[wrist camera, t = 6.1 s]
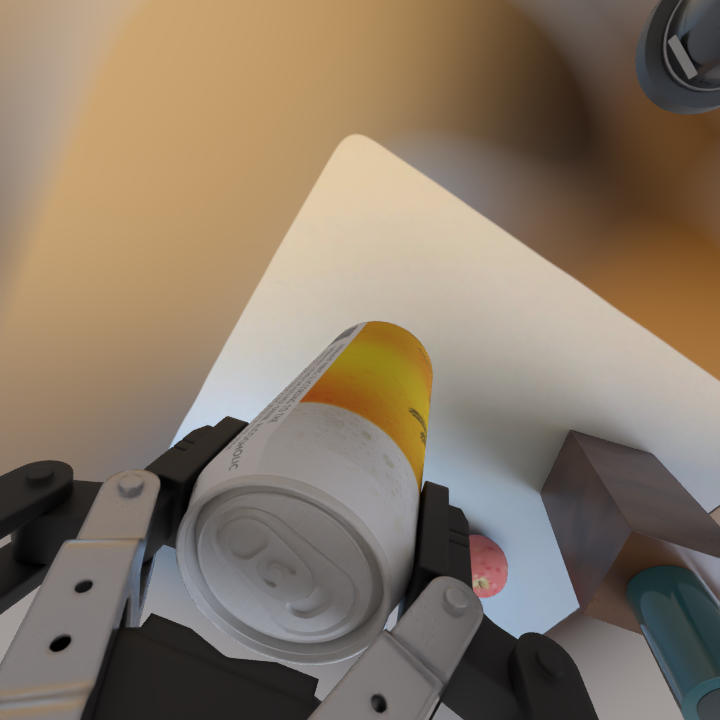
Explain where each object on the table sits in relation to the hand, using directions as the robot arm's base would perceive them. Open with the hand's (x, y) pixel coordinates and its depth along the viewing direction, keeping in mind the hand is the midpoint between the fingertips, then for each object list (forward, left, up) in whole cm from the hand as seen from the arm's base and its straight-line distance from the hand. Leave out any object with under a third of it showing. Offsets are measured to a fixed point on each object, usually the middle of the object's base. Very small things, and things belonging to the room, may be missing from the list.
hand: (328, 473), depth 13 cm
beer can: (0, 0, -11) cm, 11 cm away
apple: (+32, +18, -38) cm, 53 cm away
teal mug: (+16, +29, -20) cm, 39 cm away
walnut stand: (+16, +28, -38) cm, 50 cm away
